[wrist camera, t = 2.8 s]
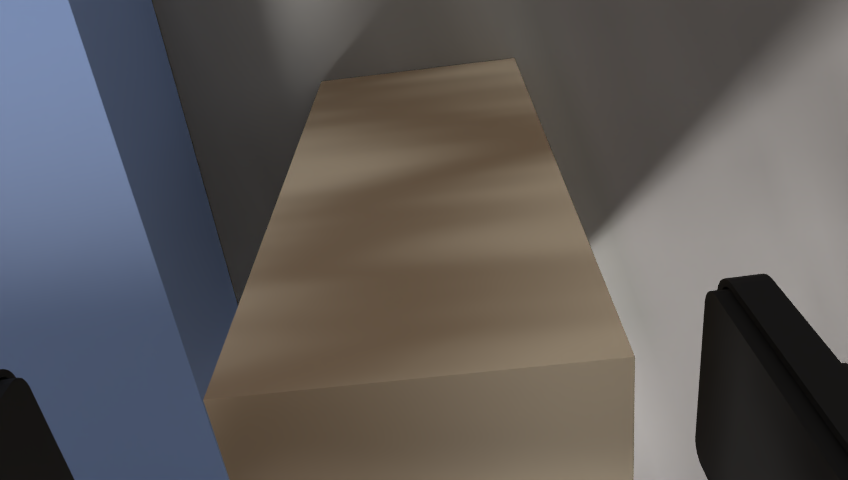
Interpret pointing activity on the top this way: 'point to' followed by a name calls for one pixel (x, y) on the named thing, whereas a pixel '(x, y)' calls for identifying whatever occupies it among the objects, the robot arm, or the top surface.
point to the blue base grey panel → (107, 242)
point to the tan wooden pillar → (425, 300)
